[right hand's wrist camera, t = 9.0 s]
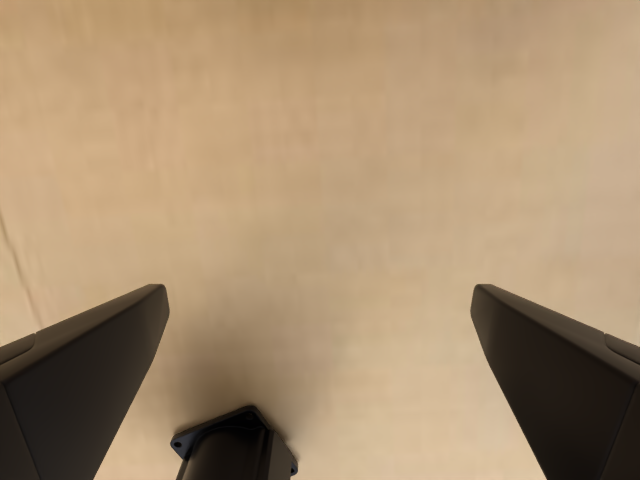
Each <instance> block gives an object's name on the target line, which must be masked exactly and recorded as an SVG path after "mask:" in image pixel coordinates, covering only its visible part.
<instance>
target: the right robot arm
mask: <svg viewBox="0 0 640 480" xmlns="http://www.w3.org/2000/svg"><path fill="white" fill-rule="evenodd" d="M169 312H170V311H169V303H168V298H167V292H166V288H165V286H164V285H163V284H149V285H146V286H144V287H141V288H139V289H137V290H134V291H132V292H130V293H127V294H125V295H123V296H120V297H118V298H115V299H113V300H111V301H108V302H106V303H104V304H101V305H99V306H97V307H94V308H92V309H90V310H87V311H85V312H83V313H80V314H78V315H75V316H73V317H71V318H68V319H66V320H64V321H61V322H59V323H57V324H54V325H52V326H50V327H47V328H45V329H43V330H40V331H38V332H36V334H35V333H33V334H31V335H28V336H26V337H24V338H21V339H19V340H16V341H14V342H12V343H9V344H7V345H4V346H2V347H0V480H93V479H94V477H95V475H96V473H97V471H98V469H99V467H100V465H101V463H102V461H103V459H104V457H105V455H106V453H107V451H108V449H109V447H110V445H111V443H112V441H113V439H114V437H115V435H116V433H117V431H118V429H119V427H120V425H121V423H122V421H123V419H124V417H125V415H126V413H127V411H128V409H129V407H130V405H131V403H132V401H133V399H134V397H135V395H136V393H137V391H138V389H139V388H140V386H141V384H142V382H143V380H144V378H145V376H146V374H147V372H148V370H149V368H150V366H151V363H152V361H153V359H154V356H155V354H156V351H157V348H158V346H159V343H160V340H161V337H162V335H163V332H164V329H165V326H166V323H167V321H168V318H169ZM470 312H471V318H472V321H473V323H474V326H475V329H476V332H477V335H478V337H479V340H480V343H481V346H482V348H483V351H484V354H485V356H486V359H487V361H488V363H489V366H490V368H491V370H492V372H493V374H494V376H495V378H496V380H497V382H498V384H499V386H500V388H501V389H502V391H503V393H504V395H505V397H506V399H507V401H508V403H509V405H510V407H511V409H512V411H513V413H514V415H515V417H516V419H517V421H518V423H519V425H520V427H521V429H522V431H523V433H524V435H525V437H526V439H527V441H528V443H529V445H530V447H531V449H532V451H533V453H534V455H535V457H536V459H537V461H538V463H539V465H540V467H541V469H542V471H543V473H544V475H545V477H546V479H547V480H640V347H638V346H636V345H633V344H631V343H628V342H626V341H624V340H621V339H619V338H616V337H614V336H612V335H609V334H607V333H605V334H604V332H602V331H600V330H597V329H595V328H593V327H590V326H588V325H586V324H583V323H581V322H579V321H576V320H574V319H572V318H569V317H567V316H565V315H562V314H560V313H557V312H555V311H553V310H550V309H548V308H546V307H543V306H541V305H539V304H536V303H534V302H532V301H529V300H527V299H524V298H522V297H520V296H517V295H515V294H513V293H510V292H508V291H506V290H503V289H501V288H499V287H496V286H494V285H491V284H477V285H476V286H475V288H474V292H473V298H472V303H471V311H470ZM248 413H250V414H248ZM170 445H171V447H172V448H173V449H174V450H175V451H176V453H177V454H178V455H179V456H180V457H181V458H182V459H183V462H182V464H181V467H180V470H179V473H178V475H177V478H176V480H290V476H293V475H295V474H297V472H298V463H297V462H296V460H295V459H294V458H293V456H292V453H291V452H290V450H289V449H288V448H287V446H286V445H285V444H284V442H283V441H282V440H281V438H280V437H279V436H278V434H277V433H276V431H274V430H273V429H272V428H271V427H270V425H269V424H268V423H267V421H266V420H265V419H264V417H263V416H262V414H261V413H260V412H259V410H258V409H257V408H256V407H254V406H246V407H243V408H241V409H238V410H236V411H233V412H231V413H228V414H226V415H223V416H221V417H218V418H216V419H213V420H211V421H208V422H206V423H203V424H201V425H198V426H196V427H193V428H191V429H188V430H186V431H183V432H181V433H178V434H176V435H174V436H173V438H172V440H171V443H170Z"/></svg>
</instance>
